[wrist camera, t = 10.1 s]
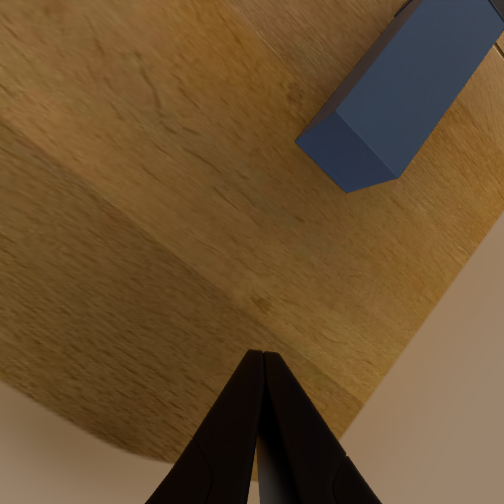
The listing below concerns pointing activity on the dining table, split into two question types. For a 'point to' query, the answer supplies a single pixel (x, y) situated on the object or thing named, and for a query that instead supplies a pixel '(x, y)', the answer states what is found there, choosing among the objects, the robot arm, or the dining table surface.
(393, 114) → the blue capped box
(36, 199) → the dining table surface
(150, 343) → the dining table surface
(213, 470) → the robot arm
